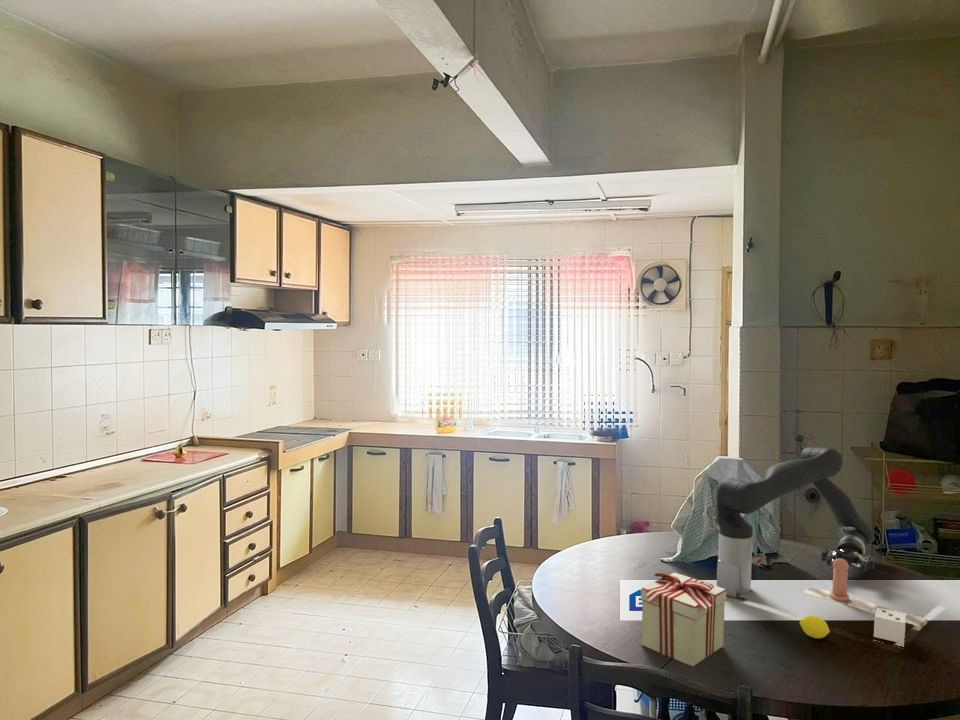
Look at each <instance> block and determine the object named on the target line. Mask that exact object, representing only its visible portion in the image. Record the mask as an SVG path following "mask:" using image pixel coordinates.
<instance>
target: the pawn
mask: <svg viewBox="0 0 960 720" xmlns="http://www.w3.org/2000/svg"><path fill="white" fill-rule="evenodd" d="M832 566H833V567H832V568H833V571H832V573H833V574H832V576H833V577H832V590H831V591H830V594H829V595H830V598H831V599H833V600H836V601H840V602H847V601H849V597H850V595H849V594H848V593H847V592H848V576H849V575H848V574H849V572H848V571H849V567H850V566H849V565H848V562H847V561H846V560H844V559H842V558H838V559H836V560H835V561H834V562H833V563H832Z"/></svg>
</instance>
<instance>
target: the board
mask: <svg viewBox="0 0 960 720" xmlns="http://www.w3.org/2000/svg"><path fill="white" fill-rule="evenodd" d="M830 592H831V591H830V590H826V589H823V588H820V587H816V586H810V587H809V588H807V589H805V590H804V591H803V593H805V594H808V595H811V596H815V597H818V598H821V599H823V598H824V599H825V600H828V601H832V602H835V603H839V604H842V605H846V606H849V607H852V608H855V609H859V610H862V611H865V612H869V613H872V614H875V613H876V609H877V608H881V609H886V610H891V611H896V612H901V611H900V610H896V609H893V608H889V607H886V606H883V605H878V604H876V603H872V602H868V601H865V600H861V599H859V598H855V597H852V596H849V601H847V602H840V601H836V600H833V599H831V598H830ZM901 613H905V614H906V624H909V625H913V626H912V627H911V630H914V631H917V632H919V631H921V629H923V627H924V626H926V625H927V624H928V619H927V618H925V617H921V616H917V615H914V614H911V613H907V612H904V611H902V612H901Z"/></svg>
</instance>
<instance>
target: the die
mask: <svg viewBox="0 0 960 720" xmlns="http://www.w3.org/2000/svg"><path fill="white" fill-rule="evenodd" d="M905 613H906V612H904V613H902V612H901V611H900V612H896V611H891V610H886V609H881V608H877V609H876V613H874V622H873V638H877V639H882V640H885V641H890V642H894V644H893V645H897V646H902V647H905V640H904V639H906V624H907V623H906V614H905ZM872 641H873V642H874V641H878V642H882V643H884V642H883V641H879V640H876V639H873V640H872ZM878 642H877V643H878ZM882 643H881V644H882Z"/></svg>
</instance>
